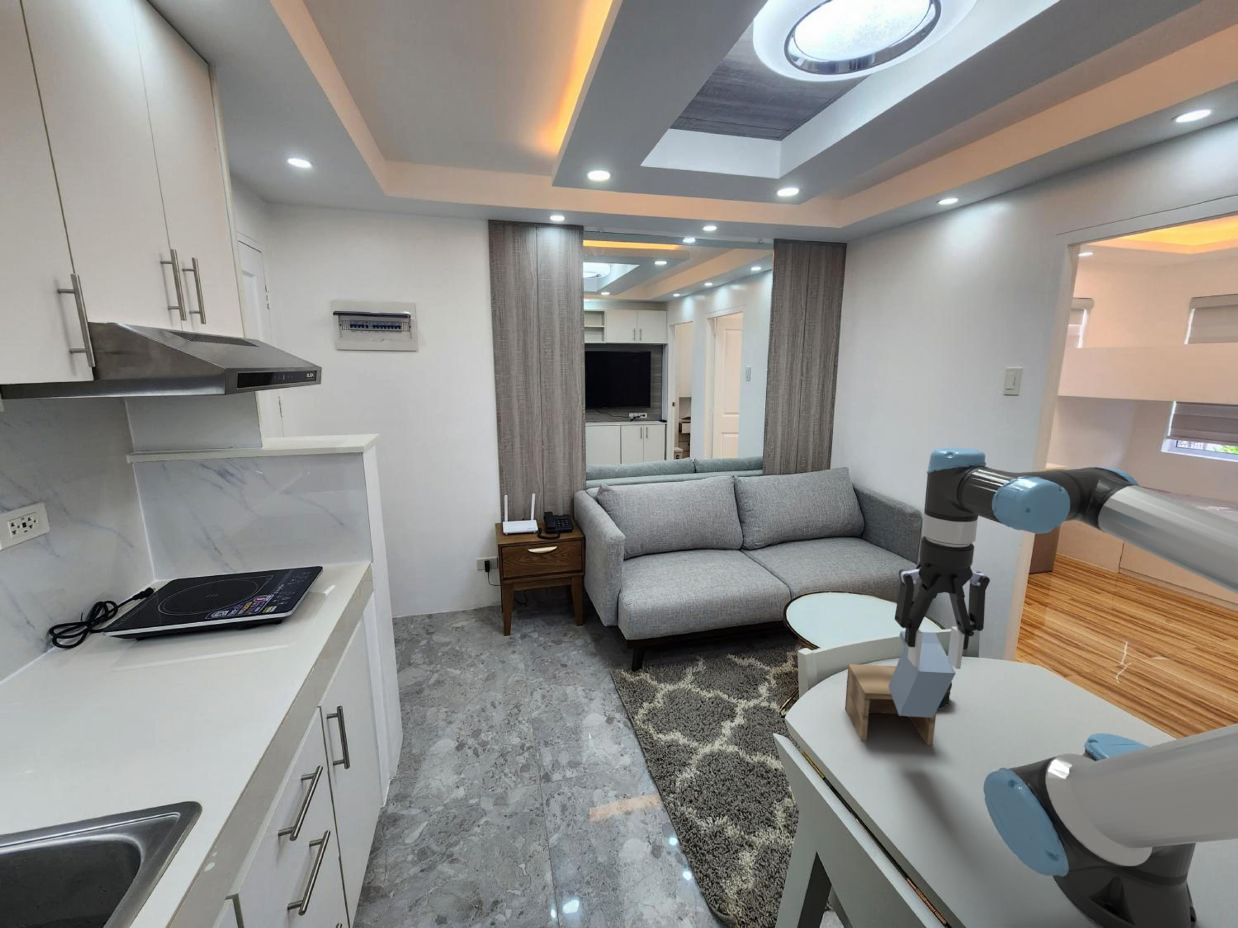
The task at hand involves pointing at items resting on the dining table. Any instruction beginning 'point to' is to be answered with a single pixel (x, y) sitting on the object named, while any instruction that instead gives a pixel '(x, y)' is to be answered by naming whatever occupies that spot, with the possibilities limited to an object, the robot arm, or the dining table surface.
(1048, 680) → the dining table surface
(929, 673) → the lidded box
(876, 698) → the open wooden crate
